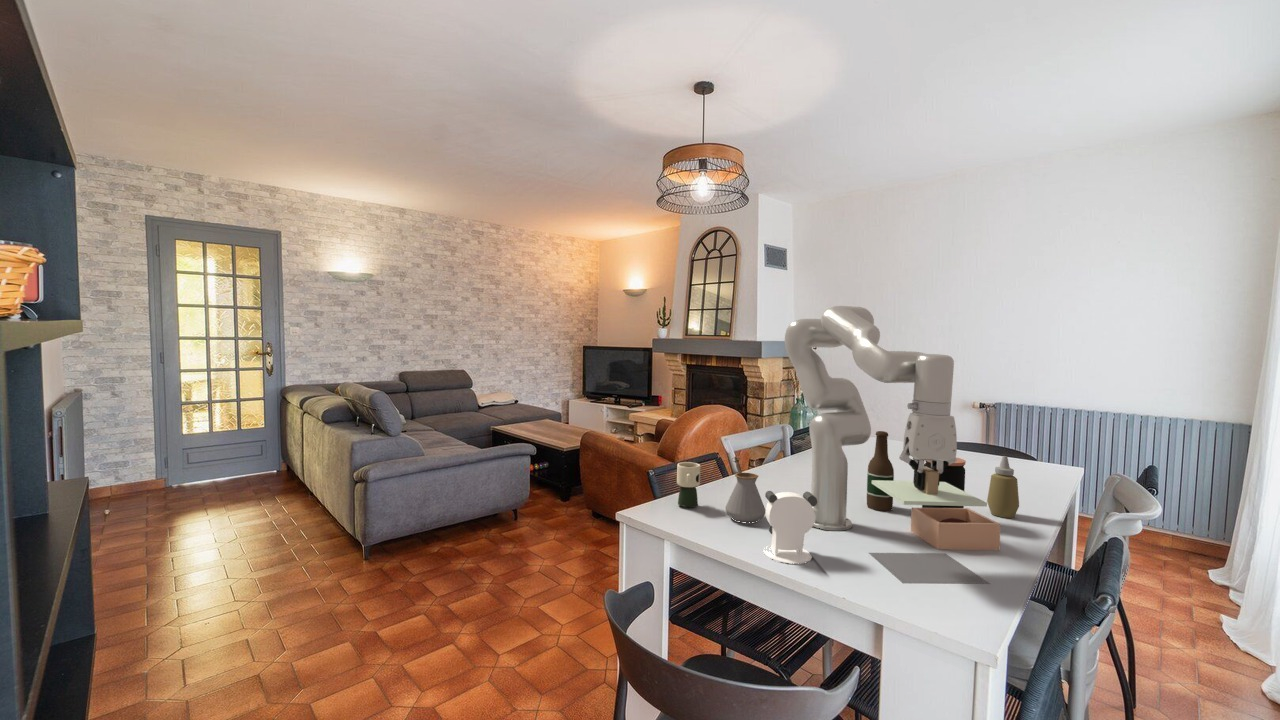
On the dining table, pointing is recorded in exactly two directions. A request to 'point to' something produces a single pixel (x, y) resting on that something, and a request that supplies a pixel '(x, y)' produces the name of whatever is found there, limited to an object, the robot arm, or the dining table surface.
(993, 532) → the wooden cubby box
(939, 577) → the mat
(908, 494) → the lid
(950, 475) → the coffee jar
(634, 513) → the dining table surface
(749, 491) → the coffee pot
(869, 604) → the dining table surface
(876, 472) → the beer bottle
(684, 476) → the character mug
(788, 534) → the panda figurine
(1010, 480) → the squeeze bottle
